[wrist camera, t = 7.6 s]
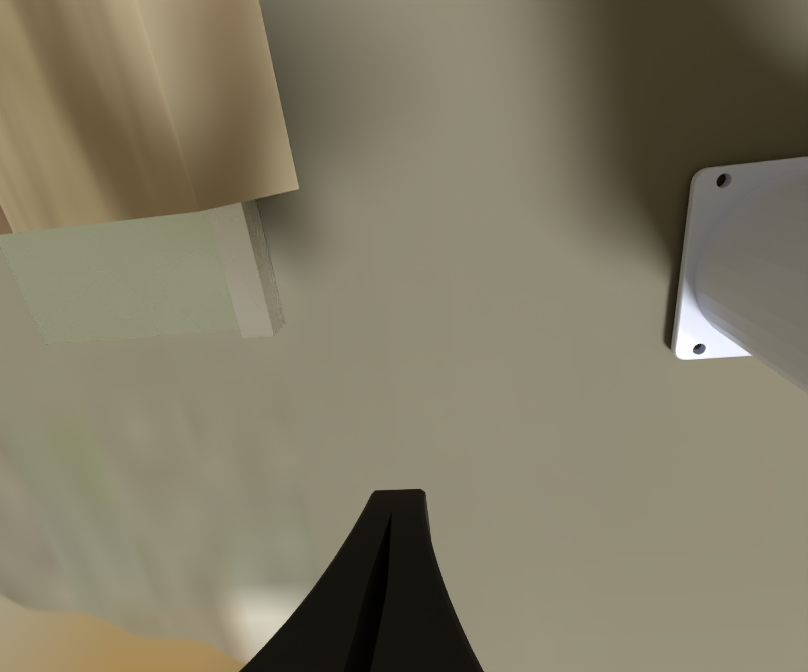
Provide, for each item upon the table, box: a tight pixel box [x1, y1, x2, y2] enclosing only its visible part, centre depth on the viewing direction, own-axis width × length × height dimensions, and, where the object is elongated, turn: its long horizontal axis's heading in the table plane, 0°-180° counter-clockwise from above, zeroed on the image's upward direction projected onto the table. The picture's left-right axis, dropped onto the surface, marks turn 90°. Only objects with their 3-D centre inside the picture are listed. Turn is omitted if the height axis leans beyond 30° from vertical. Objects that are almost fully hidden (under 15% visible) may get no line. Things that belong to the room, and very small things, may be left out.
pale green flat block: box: [0, 199, 285, 345], centre depth 18 cm, size 13×20×2 cm, turn 7°
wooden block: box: [0, 0, 299, 235], centre depth 14 cm, size 5×8×9 cm
